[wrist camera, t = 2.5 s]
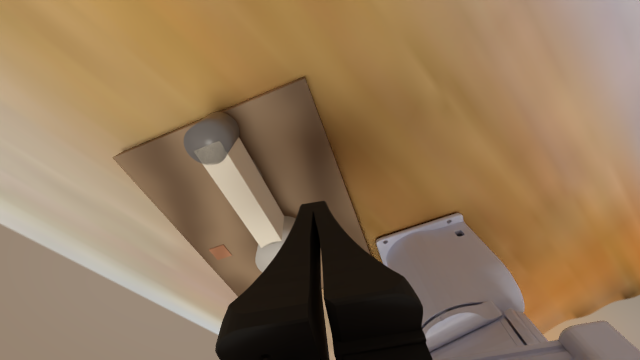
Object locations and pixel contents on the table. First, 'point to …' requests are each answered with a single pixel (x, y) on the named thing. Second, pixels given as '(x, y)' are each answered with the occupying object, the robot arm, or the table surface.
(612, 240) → the table surface
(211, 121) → the coupling lever
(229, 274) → the base
